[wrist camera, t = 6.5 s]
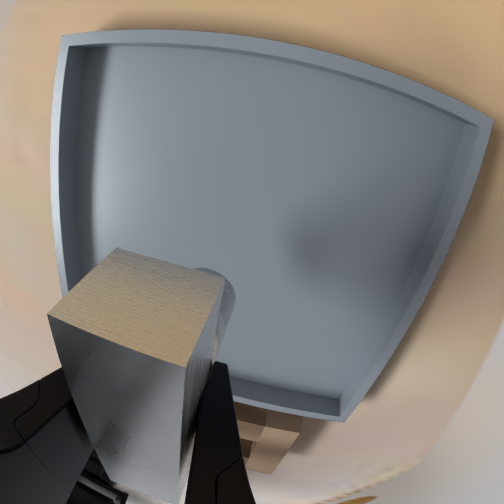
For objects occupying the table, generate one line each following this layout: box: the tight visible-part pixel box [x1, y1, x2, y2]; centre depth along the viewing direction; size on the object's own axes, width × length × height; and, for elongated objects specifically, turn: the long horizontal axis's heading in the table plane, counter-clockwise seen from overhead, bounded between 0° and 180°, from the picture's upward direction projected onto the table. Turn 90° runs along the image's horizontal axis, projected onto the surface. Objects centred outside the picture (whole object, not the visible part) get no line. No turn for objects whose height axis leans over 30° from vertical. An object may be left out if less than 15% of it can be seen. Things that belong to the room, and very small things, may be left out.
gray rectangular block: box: [47, 247, 236, 504], centre depth 9 cm, size 8×2×7 cm, turn 169°
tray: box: [50, 29, 494, 422], centre depth 15 cm, size 19×19×2 cm
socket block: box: [234, 401, 301, 474], centre depth 22 cm, size 8×8×2 cm
